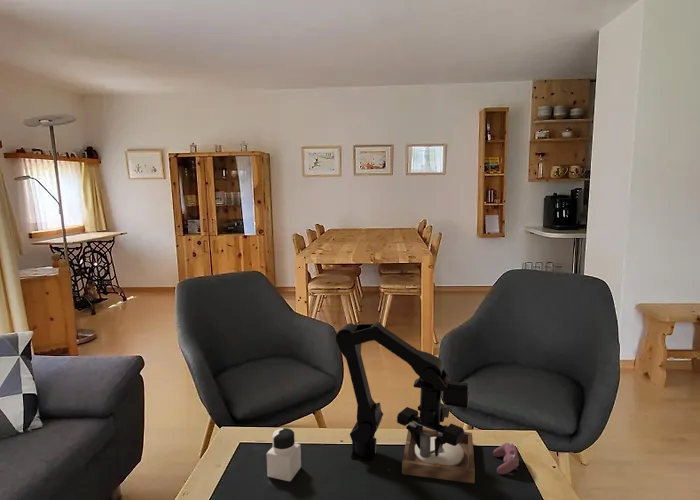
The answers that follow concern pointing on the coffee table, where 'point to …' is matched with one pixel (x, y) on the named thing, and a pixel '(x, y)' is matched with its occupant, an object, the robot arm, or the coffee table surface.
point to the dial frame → (454, 473)
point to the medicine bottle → (283, 455)
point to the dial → (446, 456)
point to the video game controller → (507, 458)
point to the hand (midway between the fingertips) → (428, 452)
